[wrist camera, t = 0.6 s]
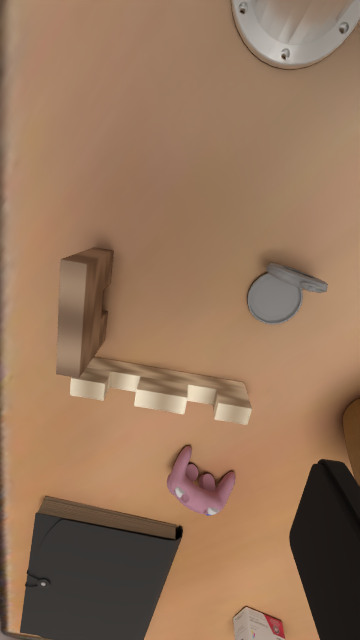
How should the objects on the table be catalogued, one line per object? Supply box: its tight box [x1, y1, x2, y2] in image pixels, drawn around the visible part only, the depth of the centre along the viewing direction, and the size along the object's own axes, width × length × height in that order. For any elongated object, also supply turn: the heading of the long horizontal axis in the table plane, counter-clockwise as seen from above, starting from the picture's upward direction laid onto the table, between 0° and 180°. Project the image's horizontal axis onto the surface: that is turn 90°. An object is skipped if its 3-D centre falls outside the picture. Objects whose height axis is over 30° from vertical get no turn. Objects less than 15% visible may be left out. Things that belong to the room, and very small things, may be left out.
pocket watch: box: [247, 263, 328, 324], centre depth 33 cm, size 8×8×10 cm
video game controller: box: [167, 446, 235, 515], centre depth 46 cm, size 10×5×7 cm, turn 55°
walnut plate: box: [56, 248, 113, 378], centre depth 34 cm, size 12×2×10 cm, turn 170°
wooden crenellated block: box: [70, 357, 252, 425], centre depth 40 cm, size 22×2×6 cm, turn 80°
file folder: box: [20, 496, 183, 640], centre depth 56 cm, size 33×4×24 cm
